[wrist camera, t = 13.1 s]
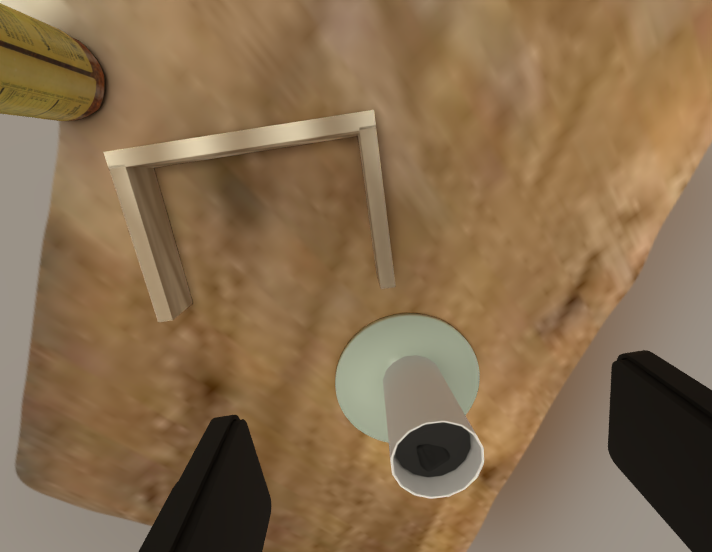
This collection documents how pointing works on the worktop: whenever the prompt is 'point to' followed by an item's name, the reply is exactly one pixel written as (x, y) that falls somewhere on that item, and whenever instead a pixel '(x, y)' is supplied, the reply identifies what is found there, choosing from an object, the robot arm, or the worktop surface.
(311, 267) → the worktop surface
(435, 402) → the white coffee cup
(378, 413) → the disc
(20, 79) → the sauce bottle
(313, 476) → the worktop surface
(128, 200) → the frame
